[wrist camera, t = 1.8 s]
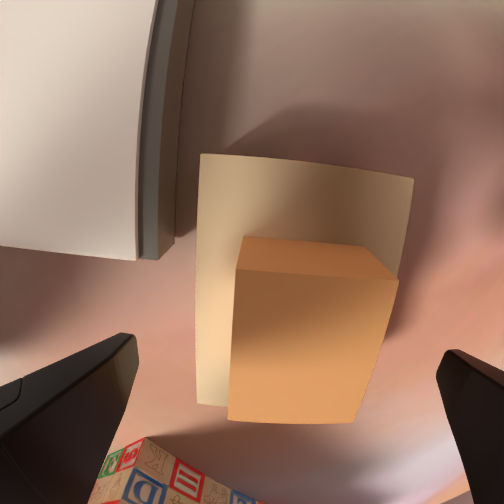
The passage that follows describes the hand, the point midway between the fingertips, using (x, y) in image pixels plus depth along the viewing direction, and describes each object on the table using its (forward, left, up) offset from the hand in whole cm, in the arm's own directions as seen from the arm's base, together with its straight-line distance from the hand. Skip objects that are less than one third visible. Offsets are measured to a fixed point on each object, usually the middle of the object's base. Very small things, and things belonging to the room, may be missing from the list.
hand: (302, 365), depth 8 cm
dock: (-12, +9, -7) cm, 16 cm away
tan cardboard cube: (0, 0, -3) cm, 3 cm away
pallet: (0, 0, -7) cm, 7 cm away
